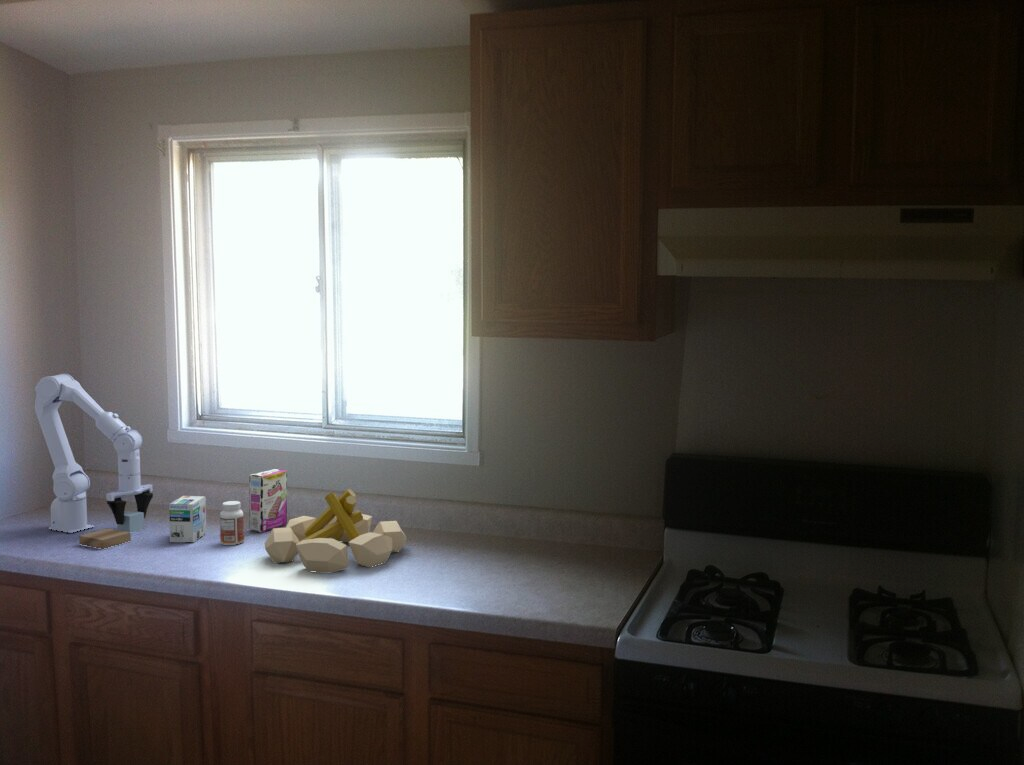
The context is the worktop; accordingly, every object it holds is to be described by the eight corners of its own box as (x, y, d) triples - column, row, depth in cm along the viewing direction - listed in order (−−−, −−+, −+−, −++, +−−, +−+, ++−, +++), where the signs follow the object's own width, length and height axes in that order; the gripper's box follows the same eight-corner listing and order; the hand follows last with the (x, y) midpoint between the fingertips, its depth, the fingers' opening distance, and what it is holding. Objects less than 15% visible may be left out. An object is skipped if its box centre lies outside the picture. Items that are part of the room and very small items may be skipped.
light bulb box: (193, 543, 255) (192, 504, 253) (169, 543, 255) (168, 503, 254) (207, 533, 265) (206, 495, 264) (183, 532, 265) (182, 495, 264)
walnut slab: (79, 546, 251) (79, 535, 251) (107, 538, 259) (107, 528, 259) (103, 551, 247) (102, 540, 247) (130, 543, 255) (130, 532, 255)
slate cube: (117, 531, 266) (116, 514, 265) (131, 527, 270) (131, 510, 270) (130, 533, 264) (129, 516, 263) (144, 529, 268) (143, 512, 268)
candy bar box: (262, 533, 265) (261, 476, 264) (248, 531, 268) (248, 474, 266) (288, 524, 275) (287, 469, 274) (274, 522, 278) (274, 468, 276)
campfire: (429, 551, 251) (429, 488, 249) (339, 583, 222) (339, 512, 221) (333, 531, 270) (333, 473, 268) (239, 558, 242) (238, 493, 240)
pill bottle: (238, 538, 260) (238, 499, 259) (247, 543, 255) (247, 503, 254) (216, 542, 256) (216, 502, 255) (225, 547, 251) (225, 506, 250)
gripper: (118, 479, 257) (120, 528, 259) (159, 470, 270) (161, 517, 271) (100, 477, 260) (102, 525, 262) (142, 468, 273) (143, 514, 275)
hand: (131, 521), depth 267 cm, fingers open, 7 cm apart
